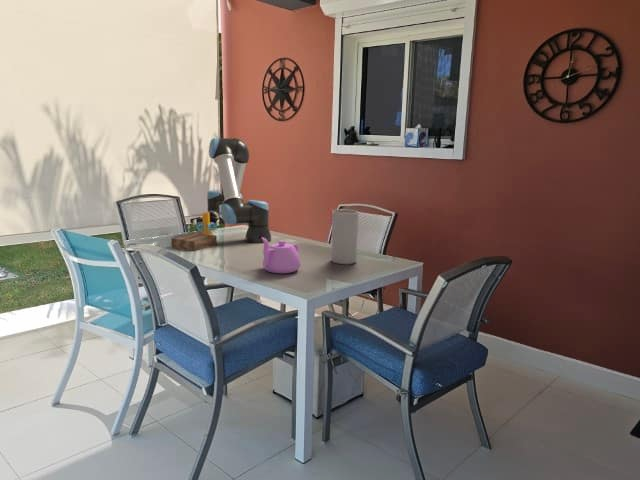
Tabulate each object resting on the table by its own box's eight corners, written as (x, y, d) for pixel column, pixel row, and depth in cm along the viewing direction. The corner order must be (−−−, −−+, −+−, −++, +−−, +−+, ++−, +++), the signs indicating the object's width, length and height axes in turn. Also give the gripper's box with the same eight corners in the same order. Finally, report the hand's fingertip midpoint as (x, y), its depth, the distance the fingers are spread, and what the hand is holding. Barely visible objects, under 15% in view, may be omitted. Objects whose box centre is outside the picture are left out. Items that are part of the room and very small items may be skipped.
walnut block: (216, 244, 272) (216, 235, 271) (194, 250, 257) (194, 241, 256) (194, 241, 279) (194, 232, 278) (171, 247, 264) (171, 238, 263)
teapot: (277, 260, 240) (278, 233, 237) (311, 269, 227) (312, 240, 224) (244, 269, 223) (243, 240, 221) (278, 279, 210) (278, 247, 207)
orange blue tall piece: (219, 236, 295) (218, 211, 292) (213, 239, 285) (213, 214, 282) (199, 235, 296) (198, 210, 293) (193, 238, 286) (192, 213, 283)
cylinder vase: (360, 260, 244) (362, 211, 239) (349, 266, 233) (351, 214, 228) (338, 257, 250) (340, 208, 245) (326, 262, 240) (327, 211, 234)
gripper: (231, 223, 308) (227, 230, 287) (191, 223, 306) (183, 229, 286) (231, 211, 306) (226, 217, 285) (190, 211, 305) (183, 216, 284)
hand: (205, 223), depth 285 cm, fingers open, 13 cm apart
